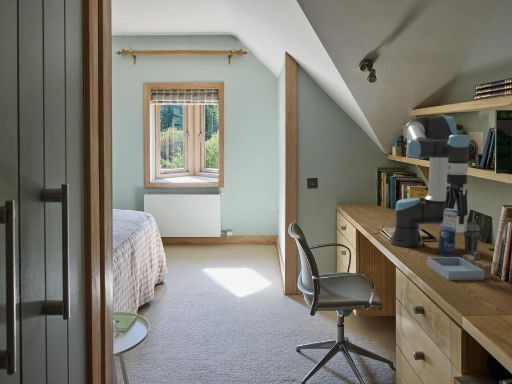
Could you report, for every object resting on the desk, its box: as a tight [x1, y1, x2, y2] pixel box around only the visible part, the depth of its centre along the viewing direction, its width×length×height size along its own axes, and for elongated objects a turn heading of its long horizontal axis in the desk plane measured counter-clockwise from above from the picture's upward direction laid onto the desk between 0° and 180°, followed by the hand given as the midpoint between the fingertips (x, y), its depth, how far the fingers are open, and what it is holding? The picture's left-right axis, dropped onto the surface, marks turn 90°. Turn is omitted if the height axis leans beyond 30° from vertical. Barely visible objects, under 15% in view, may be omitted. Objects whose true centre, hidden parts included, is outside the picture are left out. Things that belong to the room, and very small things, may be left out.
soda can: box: [438, 227, 456, 257], centre depth 232 cm, size 7×7×12 cm
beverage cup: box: [463, 211, 481, 256], centre depth 231 cm, size 7×7×20 cm
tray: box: [426, 256, 485, 281], centre depth 202 cm, size 22×14×4 cm, turn 2°
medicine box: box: [442, 208, 468, 234], centre depth 200 cm, size 8×4×9 cm, turn 44°
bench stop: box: [462, 251, 492, 279], centre depth 202 cm, size 18×3×8 cm, turn 2°
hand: (454, 229), depth 201 cm, fingers closed on medicine box, 9 cm apart
